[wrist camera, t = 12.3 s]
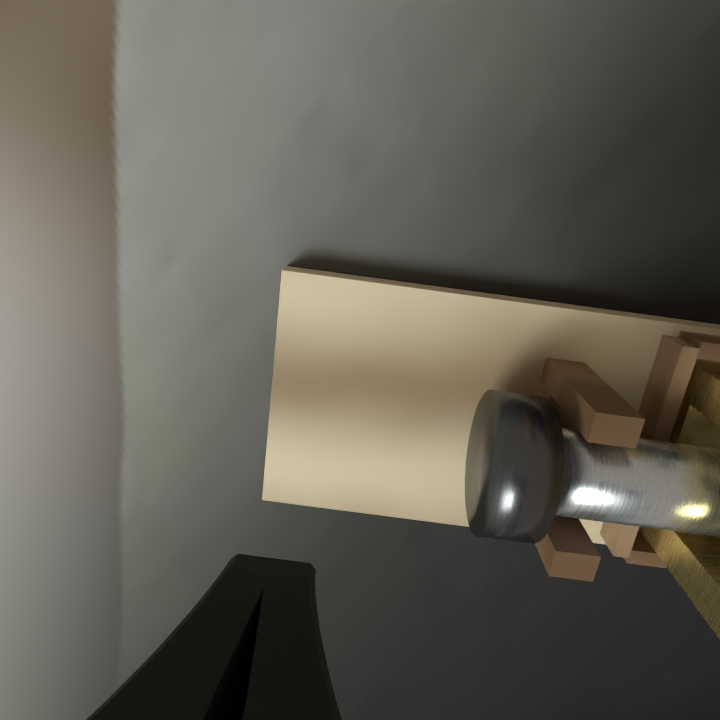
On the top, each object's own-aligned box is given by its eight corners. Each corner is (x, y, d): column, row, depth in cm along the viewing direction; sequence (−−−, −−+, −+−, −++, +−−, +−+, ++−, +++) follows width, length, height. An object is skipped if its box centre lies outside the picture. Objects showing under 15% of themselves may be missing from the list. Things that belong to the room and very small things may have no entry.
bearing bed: (759, 551, 20) (874, 666, 16) (266, 487, 20) (232, 585, 15) (849, 342, 18) (1020, 403, 13) (286, 265, 18) (252, 300, 13)
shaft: (816, 532, 18) (931, 627, 14) (458, 485, 18) (480, 569, 14) (868, 420, 17) (1009, 492, 13) (483, 369, 17) (514, 427, 13)
